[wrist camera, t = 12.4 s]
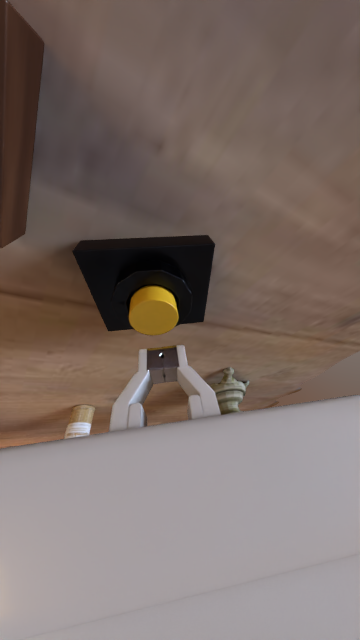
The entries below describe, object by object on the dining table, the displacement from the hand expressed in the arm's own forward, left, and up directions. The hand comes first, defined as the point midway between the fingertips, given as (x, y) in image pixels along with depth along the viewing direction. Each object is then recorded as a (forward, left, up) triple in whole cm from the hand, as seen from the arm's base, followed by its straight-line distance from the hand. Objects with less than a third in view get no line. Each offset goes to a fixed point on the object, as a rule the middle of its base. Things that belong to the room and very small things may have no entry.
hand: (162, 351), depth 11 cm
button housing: (+1, 0, -9) cm, 9 cm away
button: (+1, 0, -5) cm, 5 cm away
